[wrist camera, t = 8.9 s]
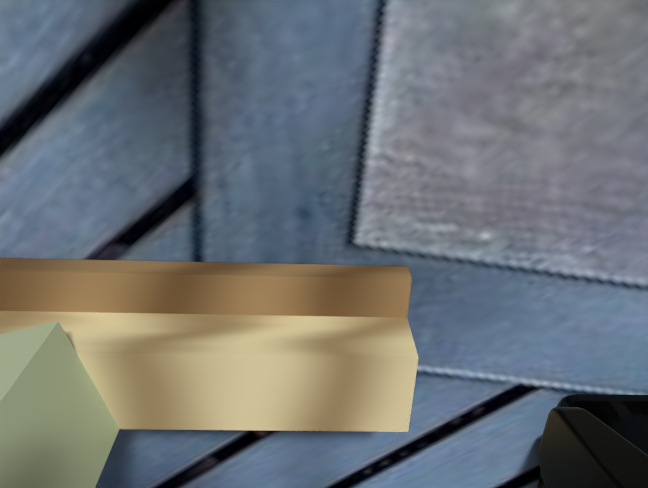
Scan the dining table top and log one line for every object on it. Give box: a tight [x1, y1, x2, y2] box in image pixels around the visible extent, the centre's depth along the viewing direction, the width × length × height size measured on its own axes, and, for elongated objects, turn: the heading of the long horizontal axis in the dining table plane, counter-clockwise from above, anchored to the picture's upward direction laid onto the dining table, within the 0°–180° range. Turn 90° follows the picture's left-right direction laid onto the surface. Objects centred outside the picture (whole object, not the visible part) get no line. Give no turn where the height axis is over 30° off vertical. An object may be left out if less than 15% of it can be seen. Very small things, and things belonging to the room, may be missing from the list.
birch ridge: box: [0, 258, 418, 432], centre depth 21 cm, size 18×7×4 cm, turn 88°
